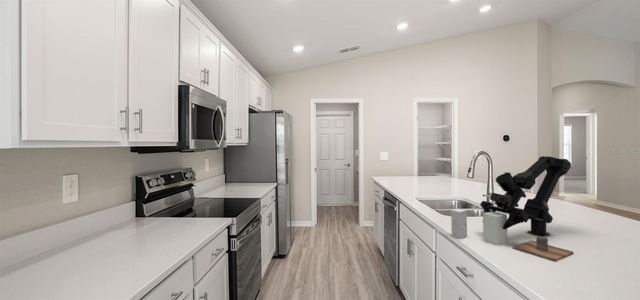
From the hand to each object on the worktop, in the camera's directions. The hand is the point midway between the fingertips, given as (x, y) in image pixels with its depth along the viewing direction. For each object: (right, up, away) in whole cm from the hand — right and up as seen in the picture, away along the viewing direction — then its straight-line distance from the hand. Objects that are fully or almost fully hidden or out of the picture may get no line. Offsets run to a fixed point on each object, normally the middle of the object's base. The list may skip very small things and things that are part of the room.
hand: (493, 225), depth 116 cm
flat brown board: (+12, -7, -11) cm, 18 cm away
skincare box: (-10, -7, +8) cm, 15 cm away
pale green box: (+1, -7, +1) cm, 7 cm away
